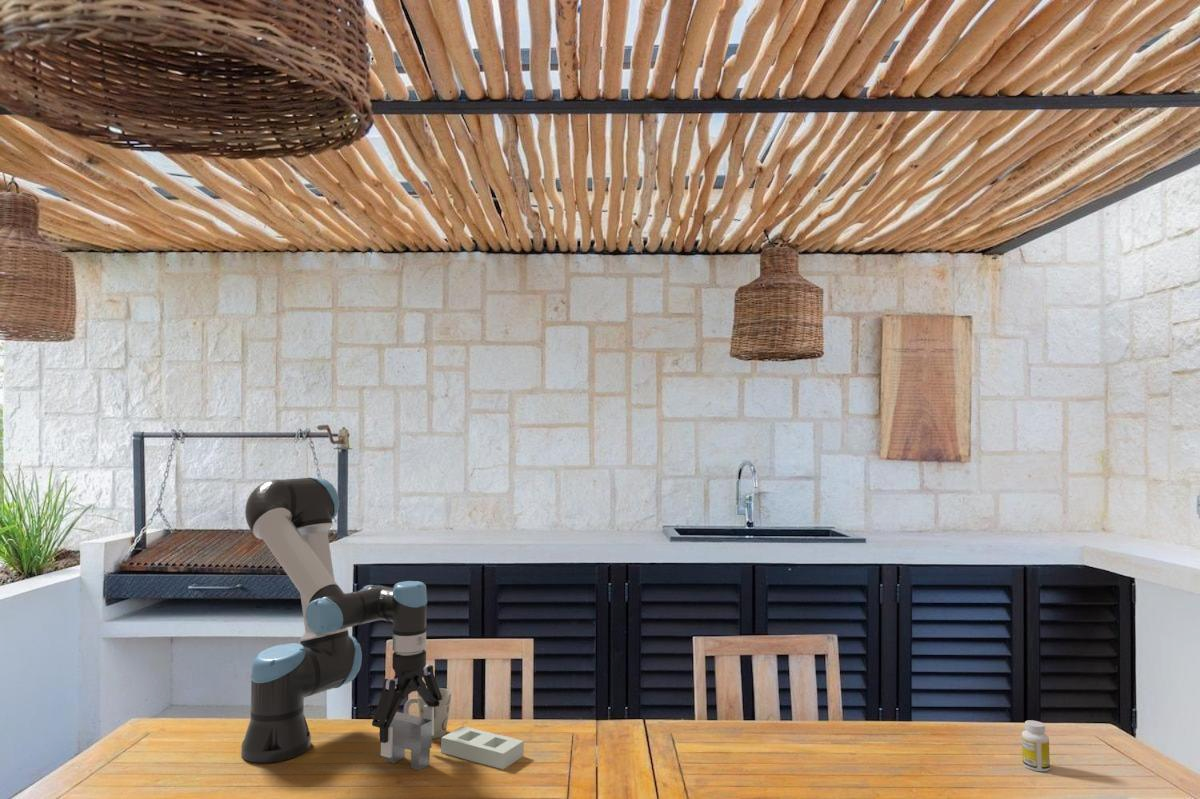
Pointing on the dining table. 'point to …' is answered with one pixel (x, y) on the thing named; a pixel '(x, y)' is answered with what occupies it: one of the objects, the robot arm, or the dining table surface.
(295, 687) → the robot arm
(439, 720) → the mug
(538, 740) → the dining table surface
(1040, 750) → the supplement bottle
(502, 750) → the block
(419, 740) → the clip
